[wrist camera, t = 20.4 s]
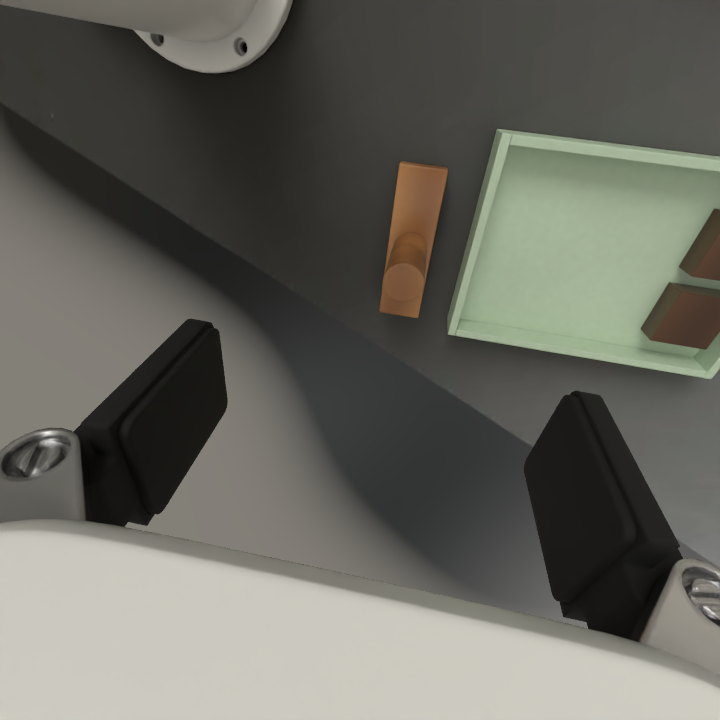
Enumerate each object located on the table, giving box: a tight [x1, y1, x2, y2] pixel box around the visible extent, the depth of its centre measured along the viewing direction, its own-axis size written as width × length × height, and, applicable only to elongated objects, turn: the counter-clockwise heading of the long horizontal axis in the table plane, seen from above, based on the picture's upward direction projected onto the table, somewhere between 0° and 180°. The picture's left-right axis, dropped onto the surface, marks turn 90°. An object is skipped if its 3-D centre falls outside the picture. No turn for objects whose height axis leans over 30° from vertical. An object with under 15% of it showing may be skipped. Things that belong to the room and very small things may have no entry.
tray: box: [447, 129, 720, 379], centre depth 27 cm, size 20×14×3 cm
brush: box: [379, 161, 448, 318], centre depth 27 cm, size 3×11×8 cm, turn 175°
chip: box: [641, 282, 720, 350], centre depth 28 cm, size 4×4×2 cm
